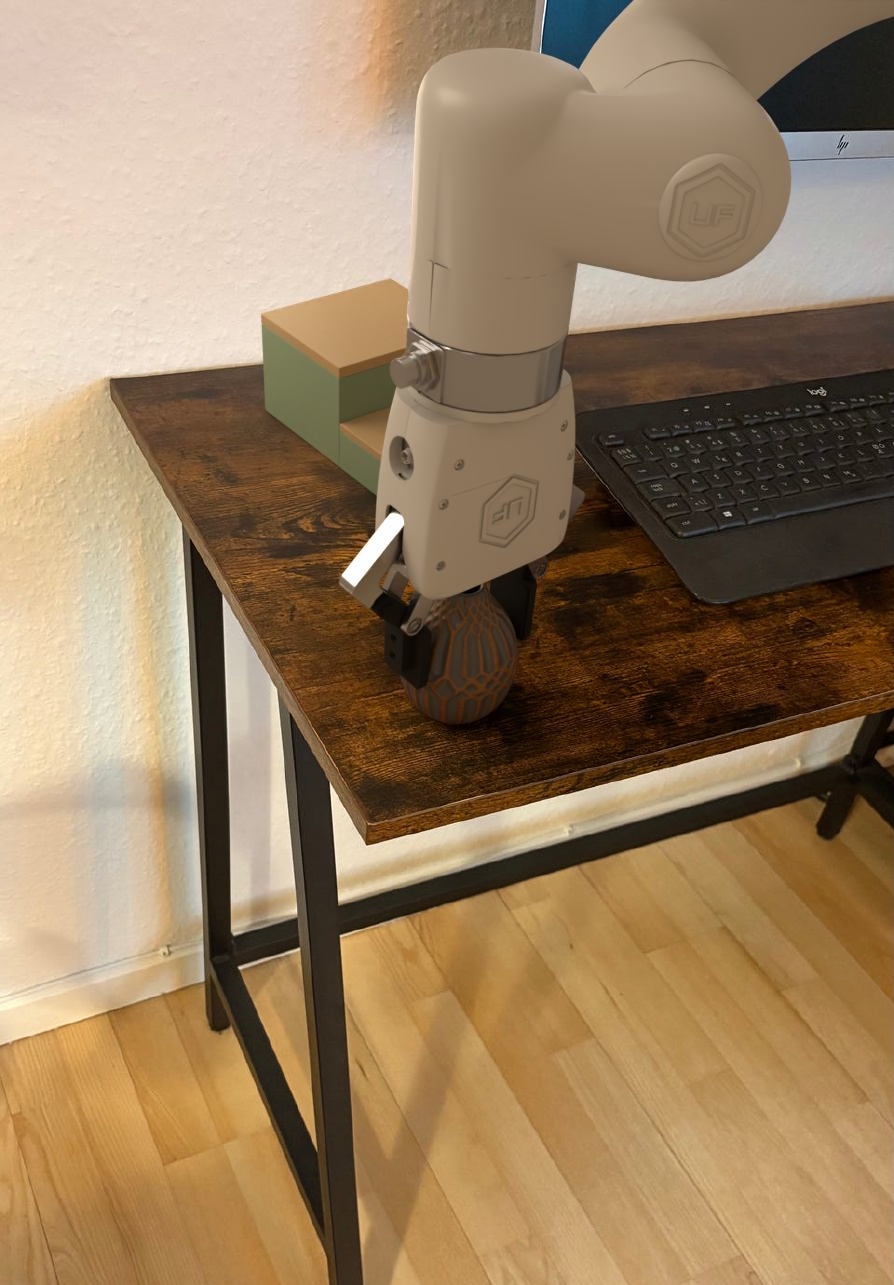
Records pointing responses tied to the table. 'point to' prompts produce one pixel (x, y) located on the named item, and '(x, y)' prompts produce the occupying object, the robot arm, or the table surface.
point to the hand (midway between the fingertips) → (458, 648)
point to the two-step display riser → (337, 372)
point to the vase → (467, 658)
